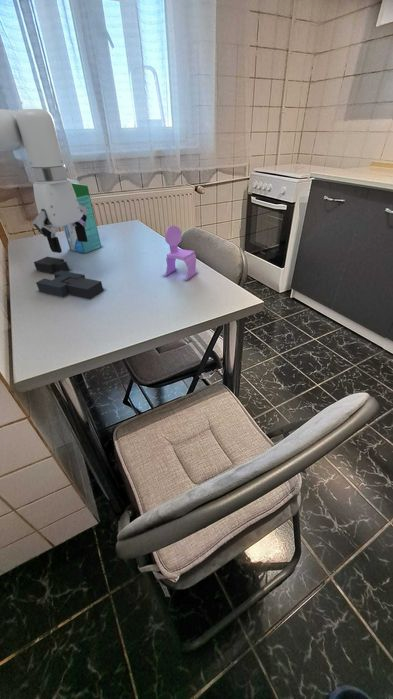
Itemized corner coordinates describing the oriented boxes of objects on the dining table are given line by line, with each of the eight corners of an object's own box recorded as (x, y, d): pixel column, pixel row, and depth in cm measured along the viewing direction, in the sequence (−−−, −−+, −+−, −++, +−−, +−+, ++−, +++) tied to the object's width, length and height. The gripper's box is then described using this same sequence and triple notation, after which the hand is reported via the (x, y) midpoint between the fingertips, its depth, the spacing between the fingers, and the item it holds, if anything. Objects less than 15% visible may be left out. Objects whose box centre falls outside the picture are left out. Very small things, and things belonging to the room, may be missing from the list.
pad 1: (36, 270, 104) (33, 262, 102) (50, 264, 108) (47, 256, 106) (59, 274, 100) (56, 266, 98) (72, 268, 104) (69, 260, 102)
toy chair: (186, 282, 92) (183, 232, 83) (162, 277, 96) (157, 229, 86) (198, 272, 98) (197, 225, 89) (176, 268, 101) (173, 222, 92)
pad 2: (62, 292, 89) (58, 283, 87) (76, 284, 93) (73, 275, 91) (90, 299, 85) (87, 289, 83) (103, 290, 89) (101, 281, 87)
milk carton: (101, 247, 123) (86, 178, 107) (84, 253, 117) (65, 181, 102) (87, 243, 127) (70, 177, 112) (69, 249, 121) (49, 180, 106)
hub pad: (39, 291, 90) (35, 282, 88) (63, 278, 97) (60, 270, 95) (63, 297, 86) (60, 287, 85) (86, 283, 94) (84, 274, 92)
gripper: (66, 170, 78) (82, 236, 89) (8, 179, 66) (35, 254, 76) (87, 171, 76) (101, 239, 86) (31, 180, 63) (56, 258, 74)
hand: (70, 246), depth 81 cm, fingers open, 9 cm apart
